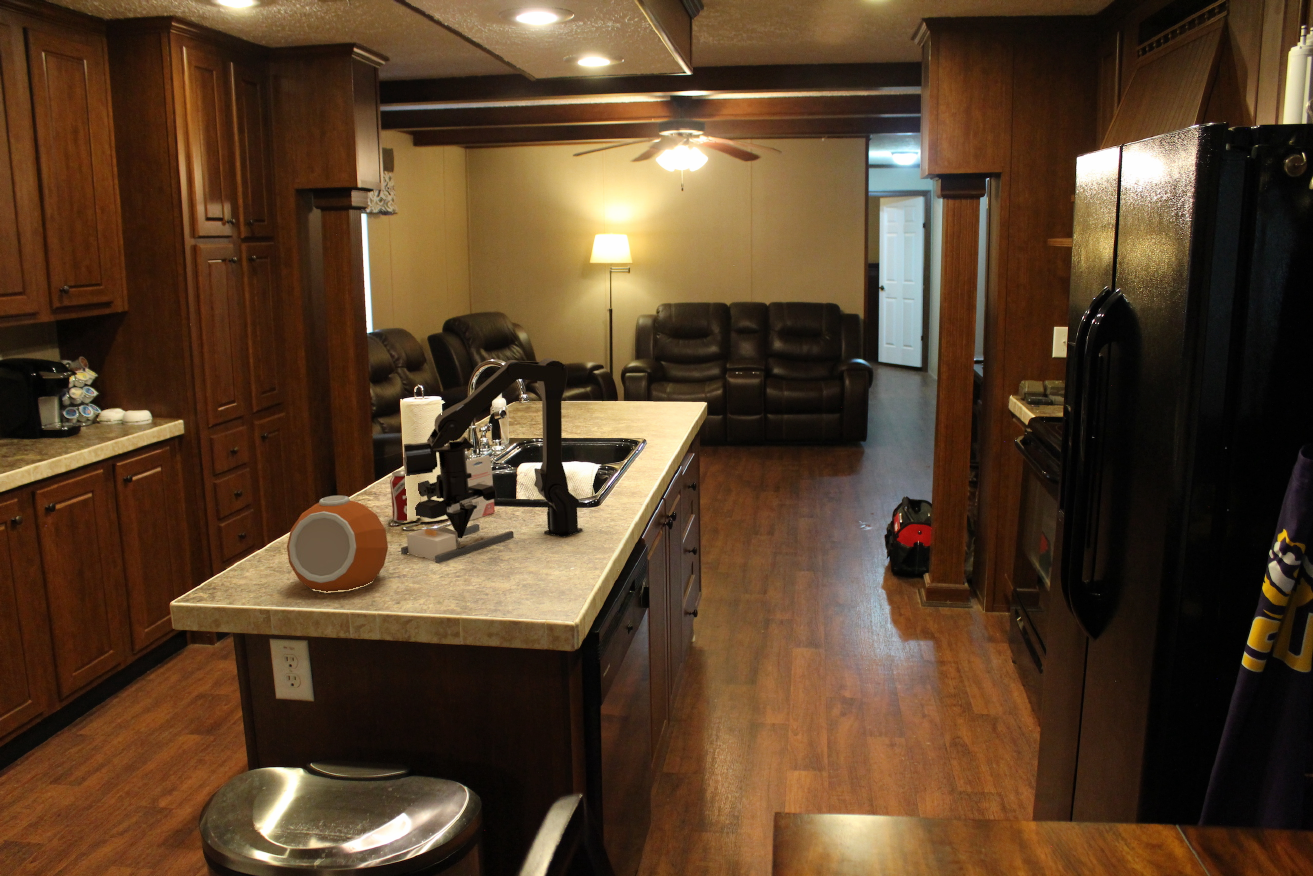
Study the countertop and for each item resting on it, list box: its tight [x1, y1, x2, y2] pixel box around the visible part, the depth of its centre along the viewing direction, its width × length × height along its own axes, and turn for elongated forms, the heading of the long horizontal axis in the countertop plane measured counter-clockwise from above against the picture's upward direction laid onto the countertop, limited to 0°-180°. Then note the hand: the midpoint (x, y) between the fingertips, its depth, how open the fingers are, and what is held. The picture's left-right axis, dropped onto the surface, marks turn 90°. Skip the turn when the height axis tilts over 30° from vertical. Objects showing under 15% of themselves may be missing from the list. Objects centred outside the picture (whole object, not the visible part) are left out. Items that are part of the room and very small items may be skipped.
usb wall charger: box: [433, 526, 461, 549], centre depth 225 cm, size 4×7×4 cm, turn 40°
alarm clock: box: [286, 495, 389, 592], centre depth 203 cm, size 19×18×17 cm
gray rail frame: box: [400, 523, 514, 564], centre depth 227 cm, size 12×22×2 cm, turn 143°
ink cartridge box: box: [466, 454, 496, 521], centre depth 251 cm, size 9×5×15 cm, turn 143°
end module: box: [406, 528, 457, 561], centre depth 221 cm, size 10×5×6 cm, turn 53°
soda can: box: [389, 469, 407, 523], centre depth 248 cm, size 7×7×12 cm
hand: (460, 538), depth 227 cm, fingers closed
